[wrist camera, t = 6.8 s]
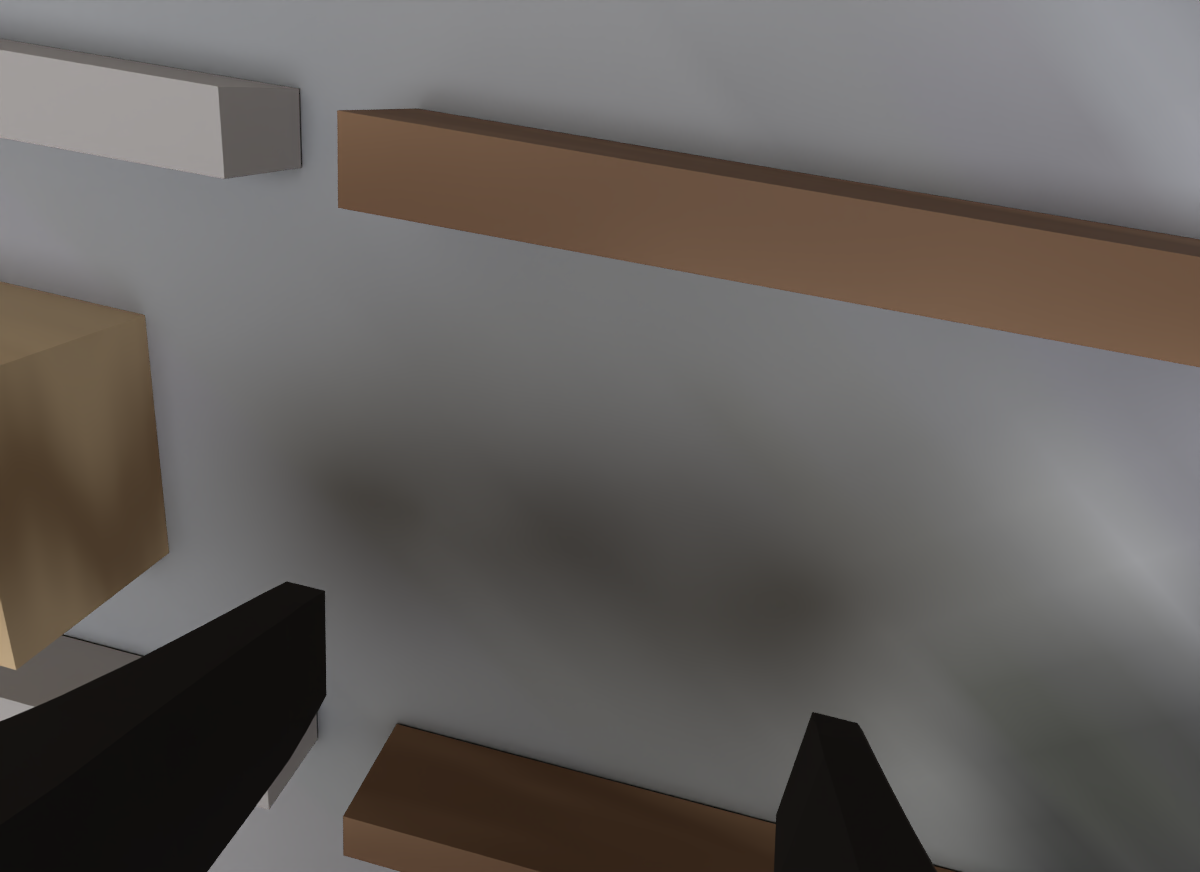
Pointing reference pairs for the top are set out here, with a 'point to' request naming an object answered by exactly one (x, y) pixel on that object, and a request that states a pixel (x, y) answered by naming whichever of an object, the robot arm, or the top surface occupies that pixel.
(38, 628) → the oak block
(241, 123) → the grey corral
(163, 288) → the top surface
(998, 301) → the brown u-shaped frame
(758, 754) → the top surface
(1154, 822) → the top surface
